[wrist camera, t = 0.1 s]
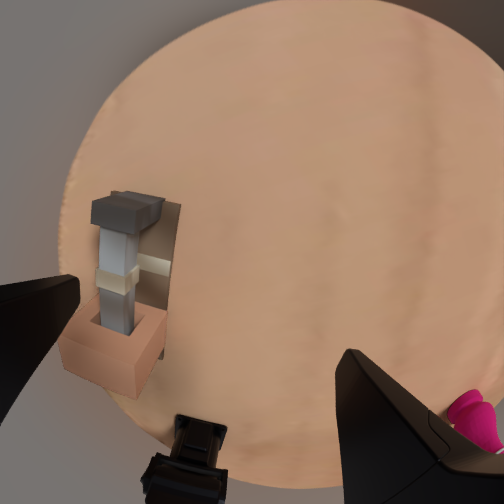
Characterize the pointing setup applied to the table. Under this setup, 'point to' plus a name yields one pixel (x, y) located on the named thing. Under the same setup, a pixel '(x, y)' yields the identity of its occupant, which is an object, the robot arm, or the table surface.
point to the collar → (113, 348)
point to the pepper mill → (476, 421)
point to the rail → (133, 255)
